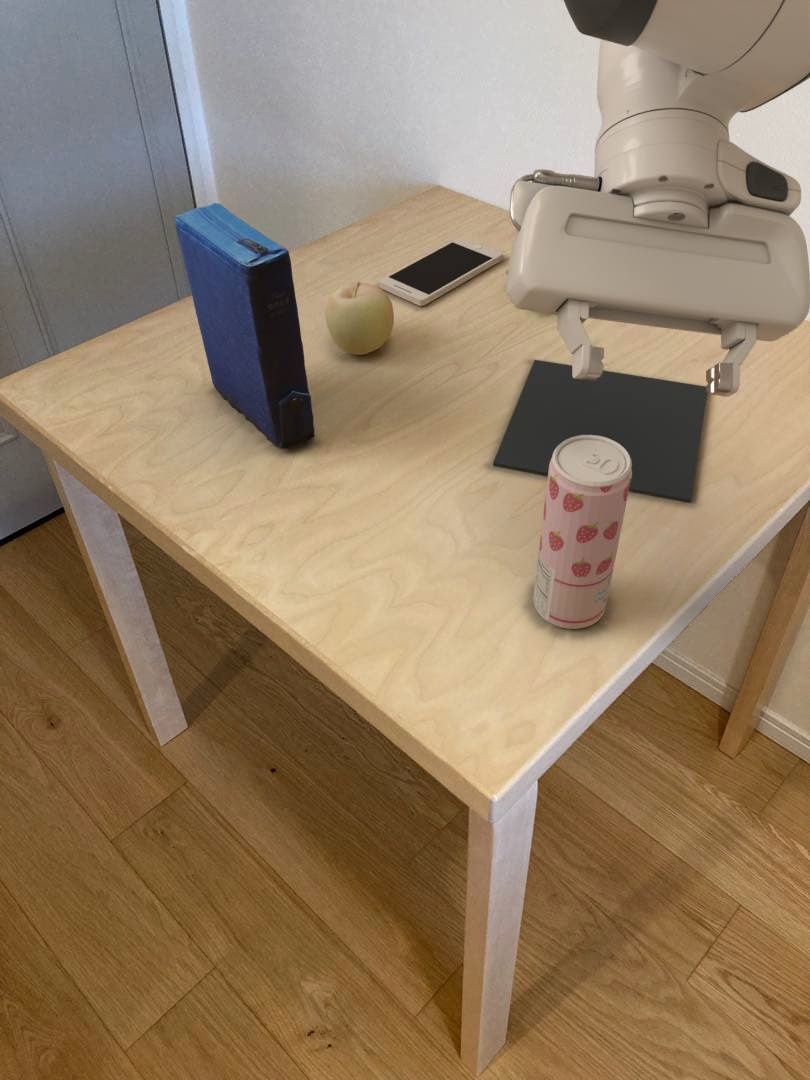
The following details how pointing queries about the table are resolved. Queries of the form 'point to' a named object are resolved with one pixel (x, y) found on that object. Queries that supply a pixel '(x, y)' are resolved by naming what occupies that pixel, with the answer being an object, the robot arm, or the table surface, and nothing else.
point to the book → (248, 321)
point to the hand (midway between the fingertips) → (655, 385)
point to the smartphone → (440, 271)
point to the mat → (609, 424)
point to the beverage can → (581, 529)
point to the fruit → (359, 317)
